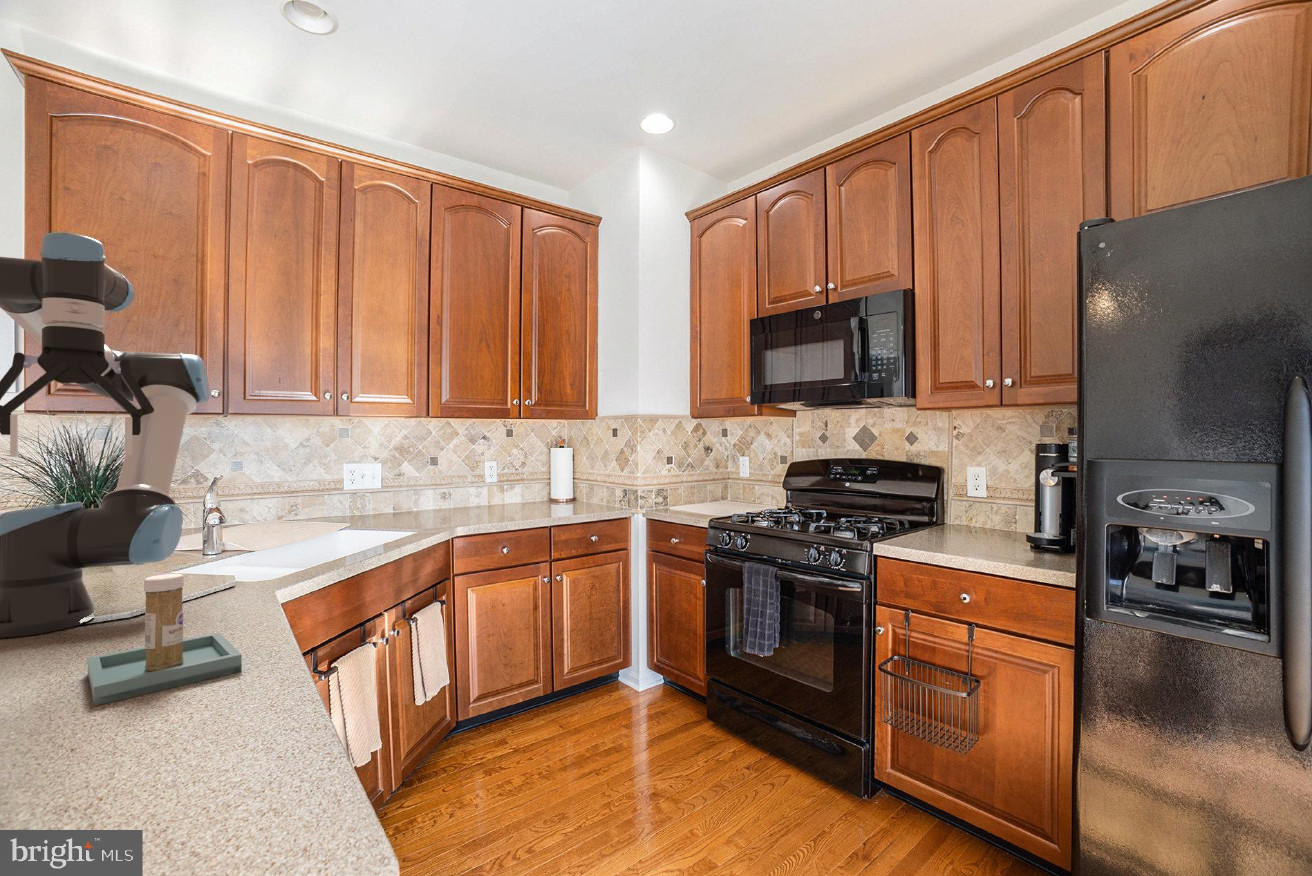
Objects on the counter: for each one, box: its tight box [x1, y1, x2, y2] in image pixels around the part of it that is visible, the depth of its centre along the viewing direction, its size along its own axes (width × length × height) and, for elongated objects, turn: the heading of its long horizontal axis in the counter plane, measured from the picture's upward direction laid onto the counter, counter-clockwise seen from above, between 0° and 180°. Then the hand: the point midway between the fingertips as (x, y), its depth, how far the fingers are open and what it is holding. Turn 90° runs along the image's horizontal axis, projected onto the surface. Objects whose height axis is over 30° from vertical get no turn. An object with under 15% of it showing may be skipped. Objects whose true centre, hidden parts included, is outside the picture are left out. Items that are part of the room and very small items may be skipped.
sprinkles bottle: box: [143, 573, 185, 671], centre depth 88 cm, size 5×5×14 cm
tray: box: [87, 632, 243, 707], centre depth 88 cm, size 16×16×2 cm
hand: (74, 455), depth 99 cm, fingers open, 13 cm apart
